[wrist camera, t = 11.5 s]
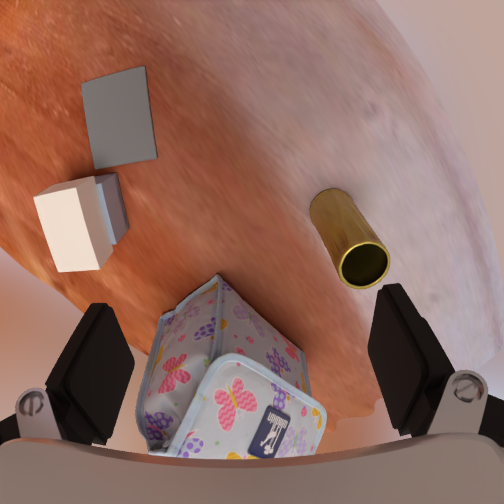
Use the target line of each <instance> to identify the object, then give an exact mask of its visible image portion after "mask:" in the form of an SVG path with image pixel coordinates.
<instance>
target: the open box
mask: <svg viewBox="0 0 504 504" xmlns="http://www.w3.org/2000/svg"><path fill="white" fill-rule="evenodd" d="M94 178H95V183H96V187H97V191H98V196H99V200H100V204H101V208H102V212H103V215H104V219H105V223H106V227H107V230H108V234H109V237H110V241H111V244H117V243H118V242H119V240H120V239H121V238H122V236H123V235H124V234H125V233H126V231H127V230H128V229H129V224H128V220H127V216H126V211H125V207H124V203H123V198H122V194H121V189H120V185H119V180H118V175H117V173H111V174H106V175H101V176H95V177H94Z"/></svg>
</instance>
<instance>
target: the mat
mask: <svg viewBox="0 0 504 504" xmlns="http://www.w3.org/2000/svg"><path fill="white" fill-rule="evenodd" d="M81 87H82V96H83V103H84V110H85V117H86V123H87V129H88V135H89V141H90V146H91V152H92V157H93V162H94V167H95V170H96V169H101V168H106V167H111V166H117V165H122V164H127V163H133V162H139V161H145V160H151V159H157V158H158V156H157V150H156V143H155V137H154V130H153V123H152V116H151V109H150V101H149V93H148V85H147V76H146V67H145V66H142V67H137V68H133V69H129V70H125V71H122V72H118V73H114V74H111V75H107V76H104V77H100V78H97V79H94V80H91V81H88V82H85V83H82V84H81Z"/></svg>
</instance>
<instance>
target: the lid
mask: <svg viewBox="0 0 504 504" xmlns="http://www.w3.org/2000/svg"><path fill="white" fill-rule="evenodd" d="M33 198H34V201H35V205H36V208H37V211H38V215H39V218H40V221H41V224H42V228H43V231H44V234H45V237H46V240H47V243H48V245H49V248H50V251H51V254H52V257H53V259H54V262H55V265H56V267H57V270H58V272H69V271H84V270H99V269H101V267H102V266H103V265H104V263H105V262H106V261H107V259H108V258H109V257H110V255H111V254H112V253H113V248H112V244H111V241H110V237H109V234H108V230H107V227H106V223H105V219H104V215H103V212H102V208H101V204H100V200H99V196H98V191H97V187H96V183H95V178H94V176H91V177H86V178H81V179H77V180H72V181H68V182H63V183H59V184H55V185H52V186H50V187H49V188H47V189H46V190H44V191H42V192H41V193H39V194H37V195H36V196H34V197H33Z"/></svg>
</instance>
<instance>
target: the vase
mask: <svg viewBox="0 0 504 504" xmlns="http://www.w3.org/2000/svg"><path fill="white" fill-rule="evenodd" d="M310 218H311V221H312V223H313V224H314V226H315V227H316V229H317V231H318V233H319V235H320V236H321V238H322V240H323V242H324V245H325V246H326V248H327V250H328V252H329V254H330V256H331V259H332V261H333V264H334V266H335V268H336V270H337V273H338V276H339V278H340V279H341V281H342V282H343V283H344V284H346V285H347V286H349V287H351V288H354V289H367V288H370V287H372V286H374V285H376V284H377V283H379V282H380V281H381V280H382V279H383V278H384V277H385V275H386V274H387V272H388V270H389V267H390V255H389V252H388V251H387V249H386V247H385V246H384V245H383V244H382V242H381V241H380V239H379V238H378V237H377V235H376V234H375V232H374V231H373V229H372V228H371V226H370V225H369V224H368V222H367V221H366V219H365V218H364V216H363V215H362V213H361V212H360V211H359V209H358V208H357V207H356V205H355V204H354V202H353V200H352V198H351V197H350V196H349V195H348V194H347V193H345V192H344V191H342V190H338V189H329V190H326V191H323V192H321V193H320V194H319V195H317V196H316V198H315V199H314V200H313V202H312V204H311V207H310Z"/></svg>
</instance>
